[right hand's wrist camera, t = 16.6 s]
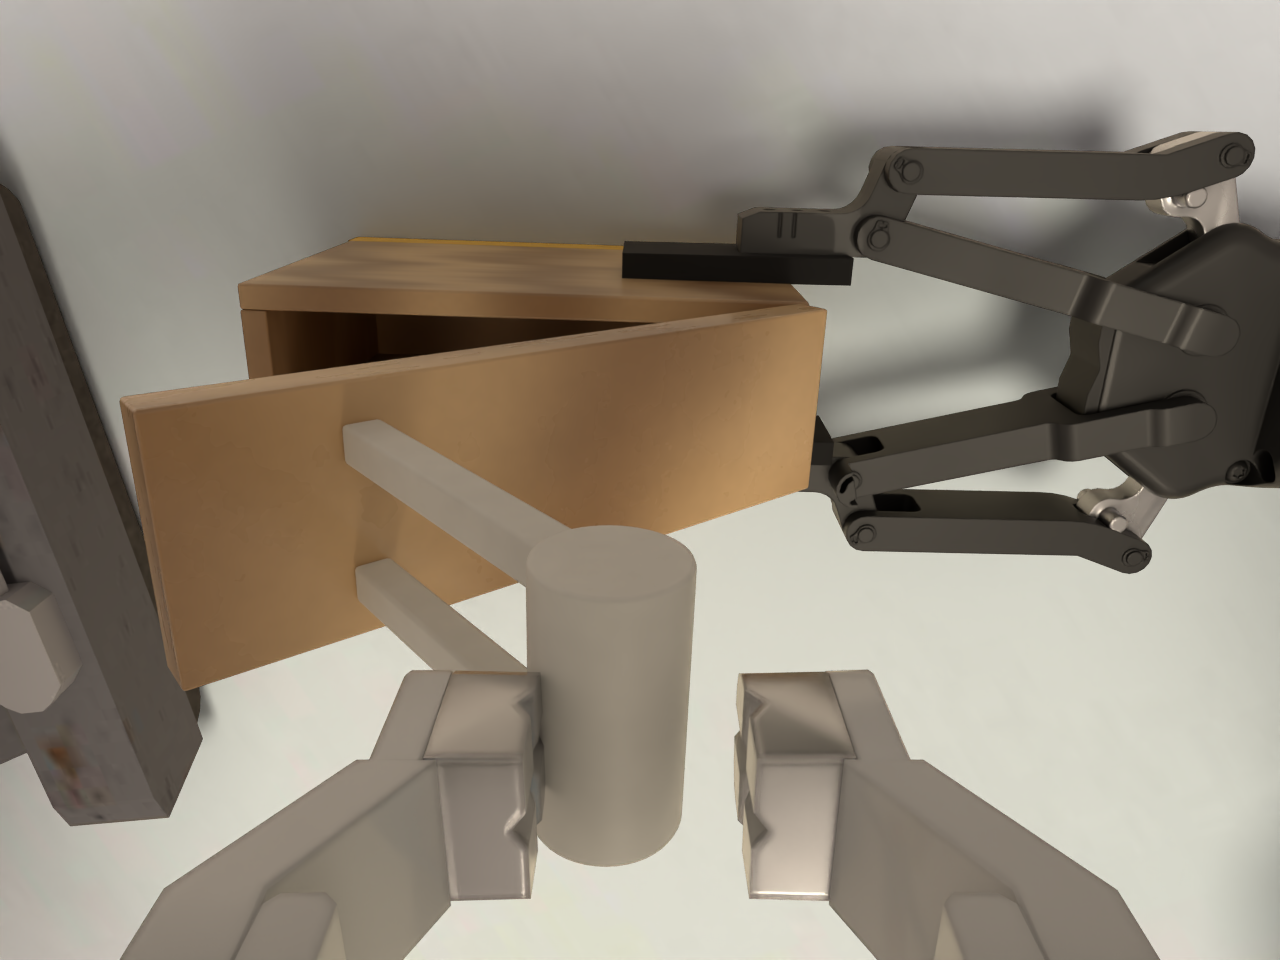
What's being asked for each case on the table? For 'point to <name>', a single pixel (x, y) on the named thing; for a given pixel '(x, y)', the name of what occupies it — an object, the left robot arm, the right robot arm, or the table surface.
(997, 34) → the table surface
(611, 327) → the chest
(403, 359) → the lid
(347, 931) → the right robot arm
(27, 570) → the toy
